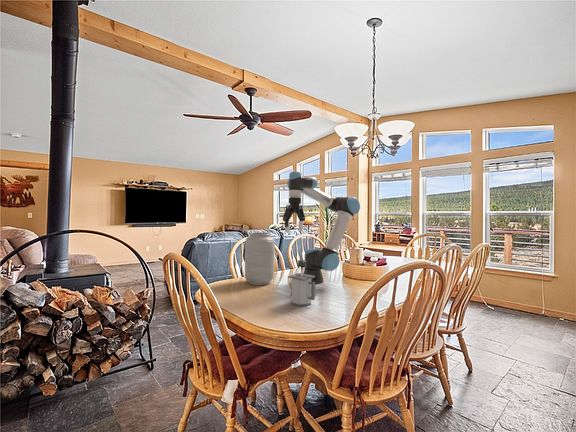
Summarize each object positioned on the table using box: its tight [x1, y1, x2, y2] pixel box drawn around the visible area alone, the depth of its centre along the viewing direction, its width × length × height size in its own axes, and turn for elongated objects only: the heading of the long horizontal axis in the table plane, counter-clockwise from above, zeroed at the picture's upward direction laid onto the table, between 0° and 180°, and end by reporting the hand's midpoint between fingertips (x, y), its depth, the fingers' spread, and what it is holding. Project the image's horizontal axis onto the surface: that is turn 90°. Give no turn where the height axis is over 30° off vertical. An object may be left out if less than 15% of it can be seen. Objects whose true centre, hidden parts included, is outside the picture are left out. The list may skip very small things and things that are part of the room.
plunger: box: [297, 259, 306, 277], centre depth 163 cm, size 7×7×17 cm
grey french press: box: [287, 272, 316, 307], centre depth 162 cm, size 11×14×15 cm
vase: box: [244, 232, 276, 286], centre depth 205 cm, size 20×20×34 cm
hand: (294, 232), depth 185 cm, fingers open, 13 cm apart
